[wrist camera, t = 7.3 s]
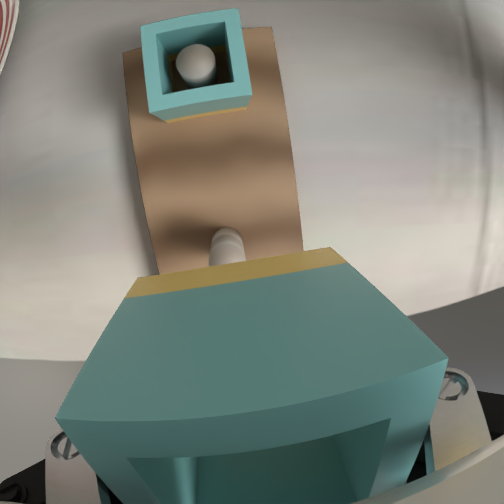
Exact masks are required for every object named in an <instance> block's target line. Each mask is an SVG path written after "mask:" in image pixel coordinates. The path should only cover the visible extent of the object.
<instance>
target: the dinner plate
mask: <svg viewBox="0 0 504 504" xmlns="http://www.w3.org/2000/svg"><path fill="white" fill-rule="evenodd" d="M19 3H20V0H0V75H1V72H2V69H3V67H4V64H5V61H6V58H7V55H8V52H9V49H10V46H11V43H12V39H13V36H14V32H15V27H16V23H17V18H18V13H19Z"/></svg>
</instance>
